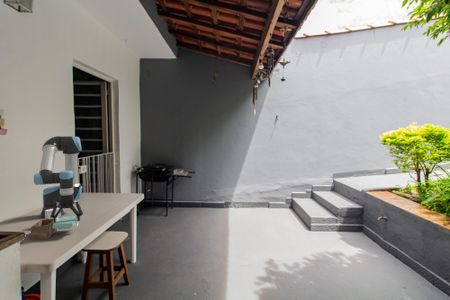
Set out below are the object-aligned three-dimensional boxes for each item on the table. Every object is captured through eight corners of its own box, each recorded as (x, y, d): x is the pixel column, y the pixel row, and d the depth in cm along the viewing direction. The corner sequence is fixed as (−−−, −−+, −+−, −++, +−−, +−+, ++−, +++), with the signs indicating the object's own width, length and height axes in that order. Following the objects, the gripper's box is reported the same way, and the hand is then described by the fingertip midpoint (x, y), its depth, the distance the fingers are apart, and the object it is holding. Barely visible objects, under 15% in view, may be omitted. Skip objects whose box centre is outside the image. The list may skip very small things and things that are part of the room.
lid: (62, 222, 163) (62, 216, 163) (80, 221, 166) (80, 215, 166) (52, 230, 148) (52, 224, 148) (72, 229, 151) (72, 223, 151)
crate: (41, 231, 160) (41, 219, 159) (57, 230, 162) (56, 218, 162) (30, 239, 146) (30, 227, 146) (47, 238, 148) (47, 226, 148)
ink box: (59, 222, 176) (58, 207, 175) (61, 224, 173) (61, 208, 172) (44, 226, 169) (44, 209, 168) (47, 227, 166) (46, 211, 165)
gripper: (43, 196, 149) (44, 230, 150) (84, 194, 156) (85, 227, 157) (48, 193, 157) (49, 226, 158) (88, 192, 163) (88, 223, 164)
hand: (67, 226), depth 157 cm, fingers closed on lid, 11 cm apart
